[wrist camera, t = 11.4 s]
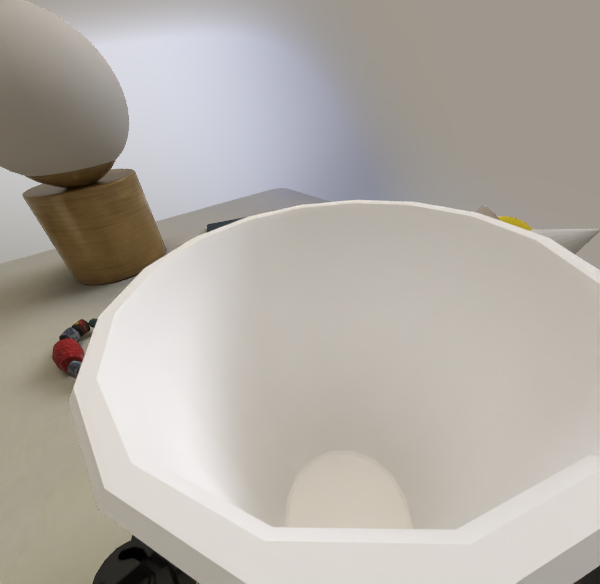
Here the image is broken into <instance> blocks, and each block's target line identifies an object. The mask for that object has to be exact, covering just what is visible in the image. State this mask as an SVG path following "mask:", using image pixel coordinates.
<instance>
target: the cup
mask: <svg viewBox="0 0 600 584" xmlns="http://www.w3.org/2000/svg"><path fill="white" fill-rule="evenodd" d="M68 402H69V406H70V409H71V413H72V417H73V420H74V424H75V428H76V431H77V435H78V439H79V442H80V446H81V449H82V453H83V457H84V460H85V464H86V468H87V471H88V475H89V479H90V482H91V486H92V490H93V493H94V497H95V500H96V504H97V508H98V510H99V511H101V512H102V513H103V514H105V515H106V516H107V517H109V518H110V519H112V520H113V521H114V522H116V523H117V524H119V525H120V526H121V527H123V528H124V529H125V530H127V531H128V532H130V533H131V534H132V535H134V536H135V537H136V538H138V539H139V540H141V541H142V542H143V543H145V544H146V545H147V546H149V547H150V548H152V549H153V550H154V551H156V552H157V553H158V554H160V555H161V556H163V557H164V558H165V559H167V560H168V561H169V562H171V563H172V564H174V565H175V566H176V567H178V568H179V569H180V570H182V571H183V572H185V573H186V574H187V575H189V576H190V577H191V578H193V579H194V580H196V581H197V582H198V583H200V584H573V583H575V582H576V581H578V580H579V579H581V578H582V577H584V576H585V575H587V574H588V573H589V572H591V571H592V570H594V569H595V568H597V567H598V566H600V270H598V269H597V268H595V267H593V266H592V265H590V264H589V263H587V262H586V261H584V260H583V259H581V258H580V257H578V256H576V255H575V254H573V253H572V252H570V251H569V250H567V249H566V248H564V247H563V246H561V245H559V244H558V243H556V242H555V241H553V240H552V239H550V238H548V237H545V236H543V235H540V234H537V233H534V232H531V231H528V230H526V229H523V228H520V227H517V226H514V225H511V224H509V223H506V222H503V221H500V220H497V219H494V218H491V217H489V216H486V215H483V214H480V213H476V212H470V211H464V210H458V209H452V208H447V207H440V206H435V205H429V204H424V203H417V202H402V201H401V202H400V201H373V200H372V201H370V200H350V201H339V202H328V203H317V204H306V205H298V206H294V207H290V208H285V209H281V210H276V211H272V212H267V213H263V214H258V215H254V216H250V217H246V218H243V219H241V220H238V221H236V222H233V223H230V224H228V225H225V226H223V227H220V228H217V229H215V230H212V231H210V232H207V233H204V234H202V235H199V236H197V237H194V238H193V239H191V240H189V241H188V242H186V243H185V244H183V245H181V246H180V247H178V248H176V249H175V250H173V251H172V252H170V253H168V254H167V255H165V256H163V257H162V258H160V259H159V260H157V261H155V262H154V263H152V264H150V265H149V266H147V267H146V268H144V269H143V270H142V271H141V272H140V273H139V274H138V275H137V276H136V277H135V279H134V280H133V281H132V282H131V283H130V284H129V285H128V286H127V287H126V288H125V289H124V290H123V291H122V292H121V293H120V294H119V295H118V297H117V298H116V299H115V300H114V301H113V302H112V303H111V304H110V305H109V306H108V307H107V308H106V309H105V310H104V311H103V312H102V313H101V315H100V316H99V317H98V320H97V322H96V324H95V327H94V330H93V333H92V336H91V339H90V341H89V344H88V347H87V350H86V353H85V355H84V358H83V361H82V364H81V367H80V370H79V372H78V375H77V378H76V381H75V384H74V386H73V389H72V392H71V395H70V398H69V400H68Z"/></svg>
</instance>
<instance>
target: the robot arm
mask: <svg viewBox="0 0 600 584" xmlns="http://www.w3.org/2000/svg"><path fill="white" fill-rule="evenodd" d="M93 584H197V581H196V580H194V579H193V578H191V577H190V576H189V575H187V574H186V573H185V572H183V571H182V570H180V569H179V568H178V567H176V566H175V565H174V564H172V563H171V562H169V561H168V560H167V559H165V558H164V557H163V556H161V555H160V554H158V553H157V552H156V551H154V550H153V549H152V548H150V547H149V546H147V545H146V544H145V543H143V542H142V541H141V540H139V539H138V538H136V537H135V536H134V535H132V539H131V541H129V542H127V543H125V544H123V545H122V546H120V547H118V548H117V549H116V550H115V551H114V552H113V553H112V554H111V555H110V556H109V557H108V558H107V559H106V560H105V561H104V563H103V564H102V566H101V567H100V569H99V570H98V572H97V574H96V575H95V578H94V581H93ZM573 584H600V566H598V567H597V568H595V569H594V570H592V571H591V572H589V573H588V574H587V575H585V576H584V577H582V578H581V579H579V580H578V581H576V582H575V583H573Z"/></svg>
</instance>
